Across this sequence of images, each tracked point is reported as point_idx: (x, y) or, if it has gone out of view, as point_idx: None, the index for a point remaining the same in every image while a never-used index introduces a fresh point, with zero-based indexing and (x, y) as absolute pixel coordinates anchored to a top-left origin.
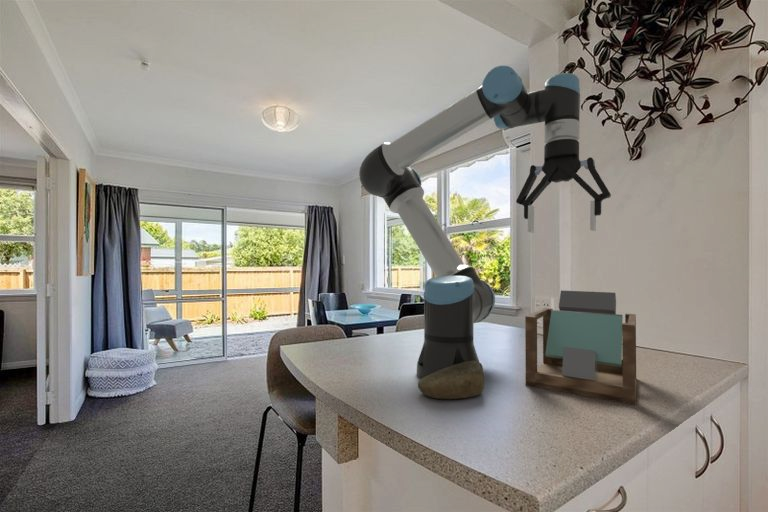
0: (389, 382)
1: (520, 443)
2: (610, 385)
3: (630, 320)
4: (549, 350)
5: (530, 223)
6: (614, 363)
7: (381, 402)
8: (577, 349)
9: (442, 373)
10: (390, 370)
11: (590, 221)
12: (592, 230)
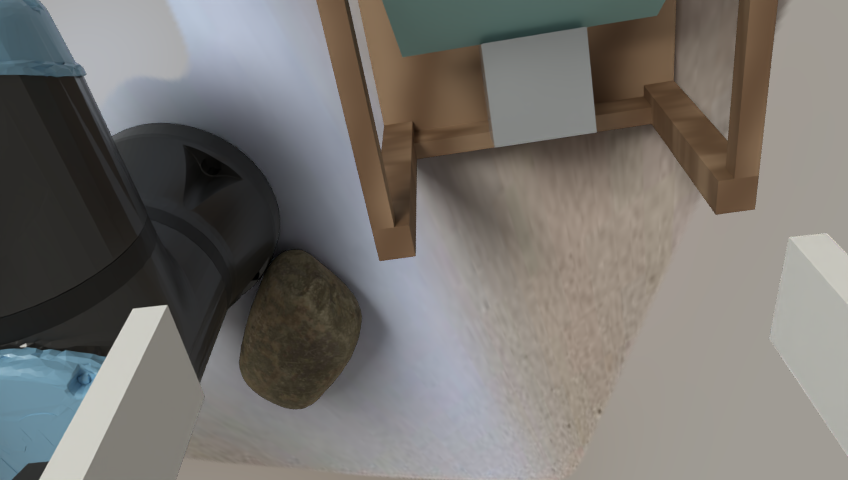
0: None
1: (510, 405)
2: (620, 127)
3: (751, 79)
4: (413, 48)
5: (174, 467)
6: (635, 18)
7: (240, 427)
8: (540, 140)
9: (300, 396)
10: None
11: (812, 398)
12: (793, 257)
